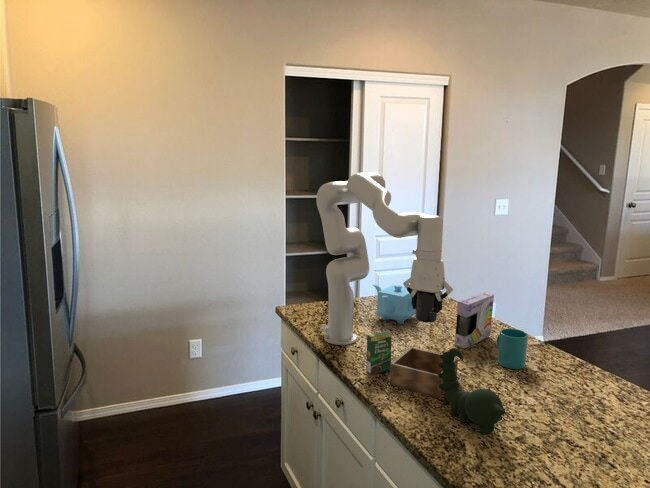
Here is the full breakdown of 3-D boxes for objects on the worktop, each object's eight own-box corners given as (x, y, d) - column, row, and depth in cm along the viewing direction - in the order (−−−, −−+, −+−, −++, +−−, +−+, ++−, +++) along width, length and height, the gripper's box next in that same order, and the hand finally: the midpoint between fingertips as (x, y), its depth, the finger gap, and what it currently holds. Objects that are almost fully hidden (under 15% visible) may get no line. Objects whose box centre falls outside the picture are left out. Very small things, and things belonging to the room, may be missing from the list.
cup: (506, 354, 182) (508, 324, 180) (531, 367, 171) (534, 335, 169) (486, 357, 179) (488, 327, 176) (510, 371, 168) (513, 339, 166)
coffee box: (369, 375, 164) (371, 337, 161) (365, 371, 166) (366, 334, 164) (391, 371, 167) (392, 333, 165) (386, 367, 170) (387, 330, 167)
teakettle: (410, 311, 229) (411, 279, 226) (425, 325, 210) (426, 291, 208) (369, 312, 225) (370, 280, 223) (381, 327, 207) (382, 292, 204)
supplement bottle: (437, 323, 157) (439, 286, 155) (415, 322, 159) (416, 285, 156) (436, 316, 164) (438, 280, 162) (415, 315, 165) (416, 279, 163)
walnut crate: (389, 384, 157) (390, 363, 156) (410, 366, 171) (410, 346, 169) (439, 398, 149) (440, 376, 148) (456, 378, 162) (457, 357, 161)
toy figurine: (430, 409, 146) (489, 449, 124) (430, 345, 144) (490, 374, 122) (457, 403, 150) (519, 440, 127) (457, 341, 148) (520, 367, 125)
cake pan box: (463, 350, 185) (466, 303, 182) (451, 346, 189) (454, 300, 185) (491, 337, 198) (495, 293, 194) (480, 333, 201) (483, 291, 198)
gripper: (398, 254, 159) (396, 308, 162) (452, 260, 150) (449, 318, 153) (407, 250, 165) (405, 302, 168) (460, 256, 156) (457, 311, 159)
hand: (426, 309), depth 161 cm, fingers closed on supplement bottle, 6 cm apart
